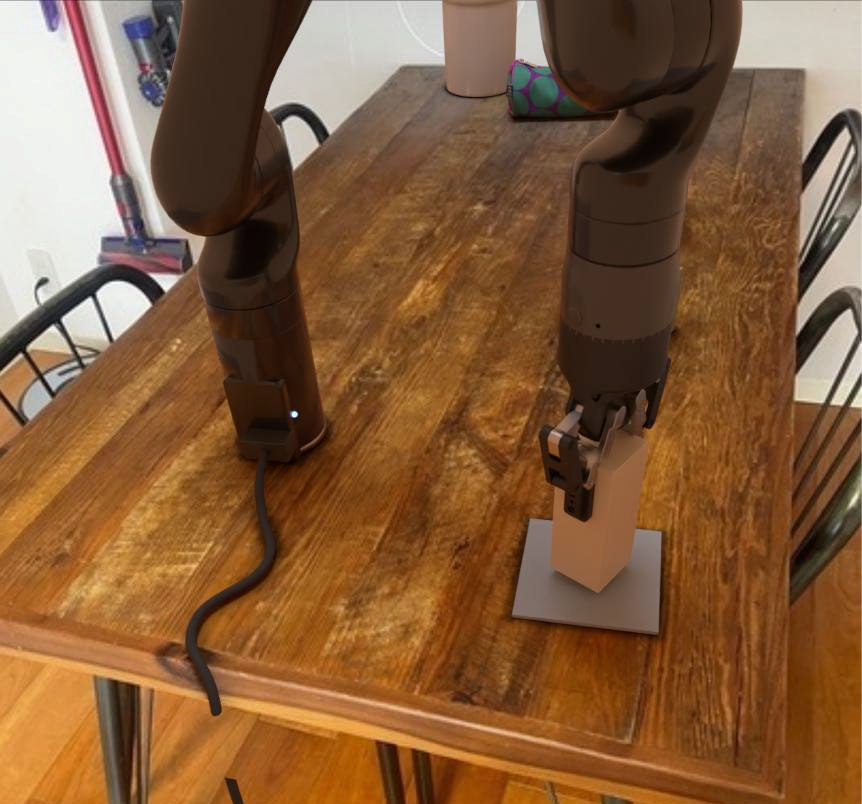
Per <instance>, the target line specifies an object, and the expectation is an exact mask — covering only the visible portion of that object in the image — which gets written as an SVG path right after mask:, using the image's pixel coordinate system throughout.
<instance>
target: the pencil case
mask: <svg viewBox="0 0 862 804" xmlns="http://www.w3.org/2000/svg"><path fill="white" fill-rule="evenodd" d="M505 98H507V104H508V106H507V107H508V110H509V113H510V115H511V116H512V117H516V118H517V117H524V118H525V117H526V118H552V119H553V118H555V119H556V118H573V117H585V116H595V115H603V114H605V113H596V112H592V111H589V110H586V109H584V108H583V107H581V106H579V105H578V104H576V103H575V102H574V101H573V100H572V99H571V98H569V96H568V95H567V94H566V93H565V92H564V91H563V90H562V88H561V87H560V86H559V84H558V83H557V81H556V80H555V78H554V76H553V74H552V72H551V70H550V68H549V66H541V65H537V64H535V63H532V62H531V61H527V60H525V59H524V58H521V57H519V58H516V59H515V62H513V63H512V64H511V66H510V69H509V72H508V78H507V89H506V92H505ZM611 113H612V114H617V113H619V110H618V111H614V112H611Z"/></svg>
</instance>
